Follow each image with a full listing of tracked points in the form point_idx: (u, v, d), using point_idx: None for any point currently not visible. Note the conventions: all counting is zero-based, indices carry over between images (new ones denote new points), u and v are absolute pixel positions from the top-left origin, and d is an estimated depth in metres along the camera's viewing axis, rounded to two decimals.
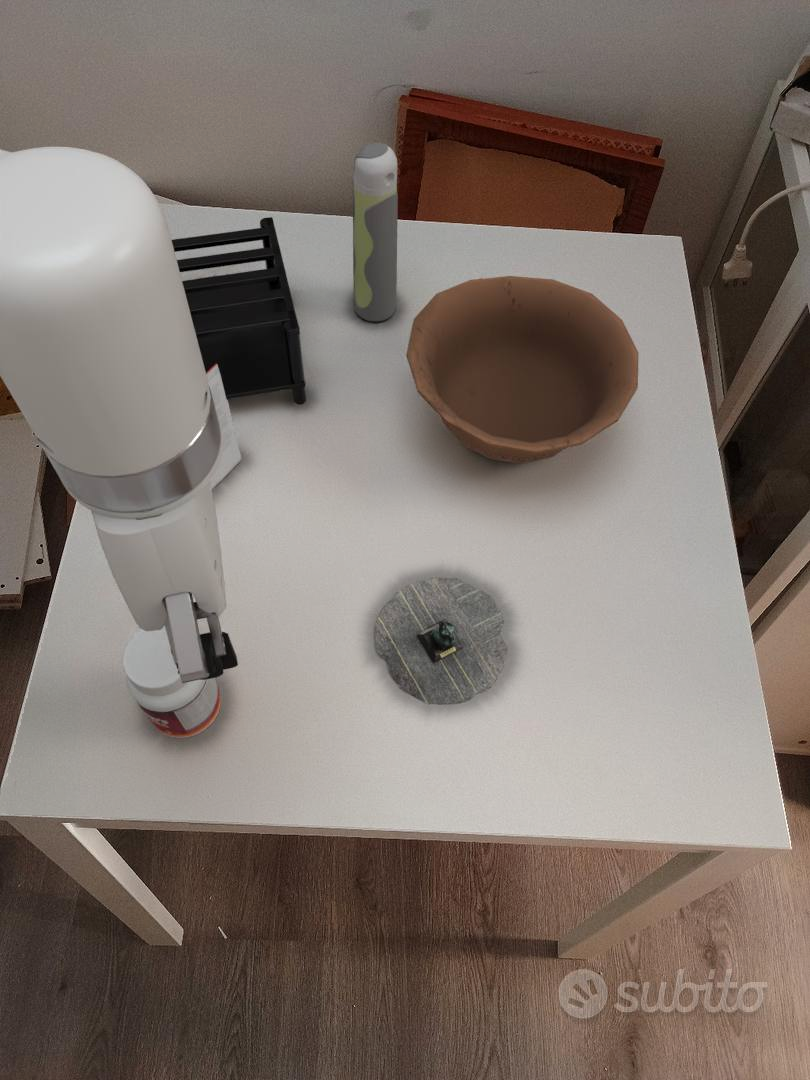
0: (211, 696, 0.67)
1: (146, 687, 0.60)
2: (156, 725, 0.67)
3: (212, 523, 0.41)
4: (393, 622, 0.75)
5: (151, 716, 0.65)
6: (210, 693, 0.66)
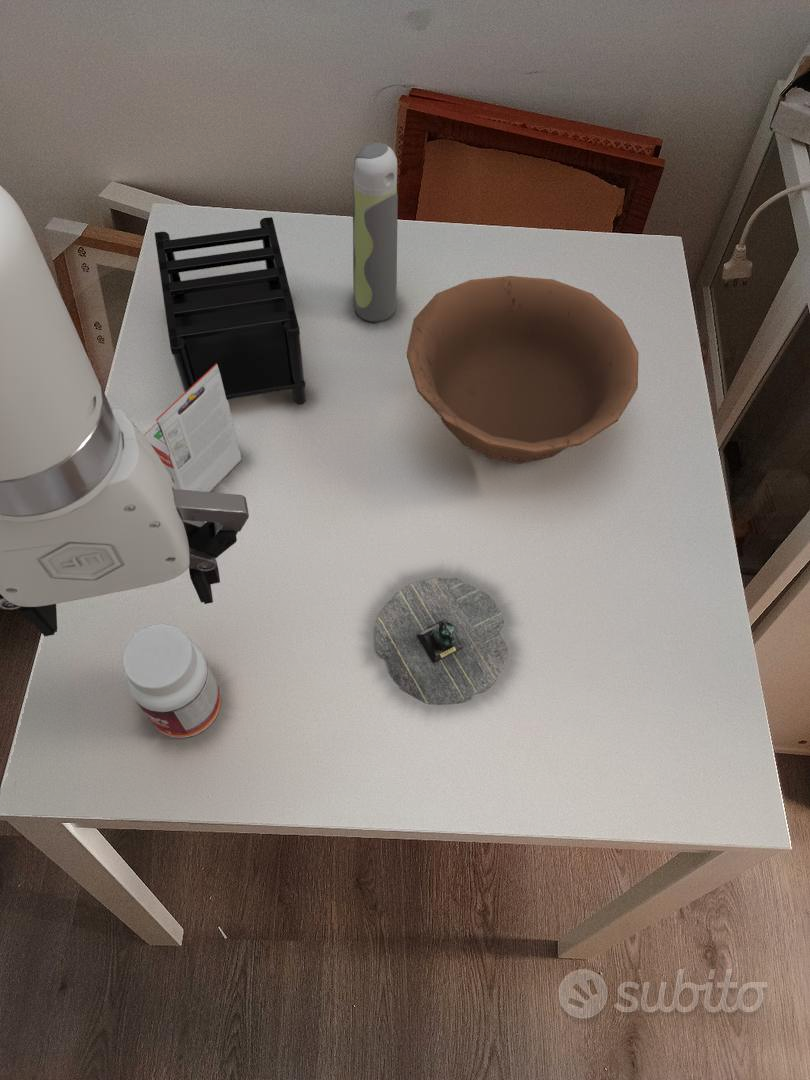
0: (211, 696, 0.67)
1: (146, 687, 0.60)
2: (156, 725, 0.67)
3: None
4: (393, 622, 0.75)
5: (151, 716, 0.65)
6: (210, 693, 0.66)
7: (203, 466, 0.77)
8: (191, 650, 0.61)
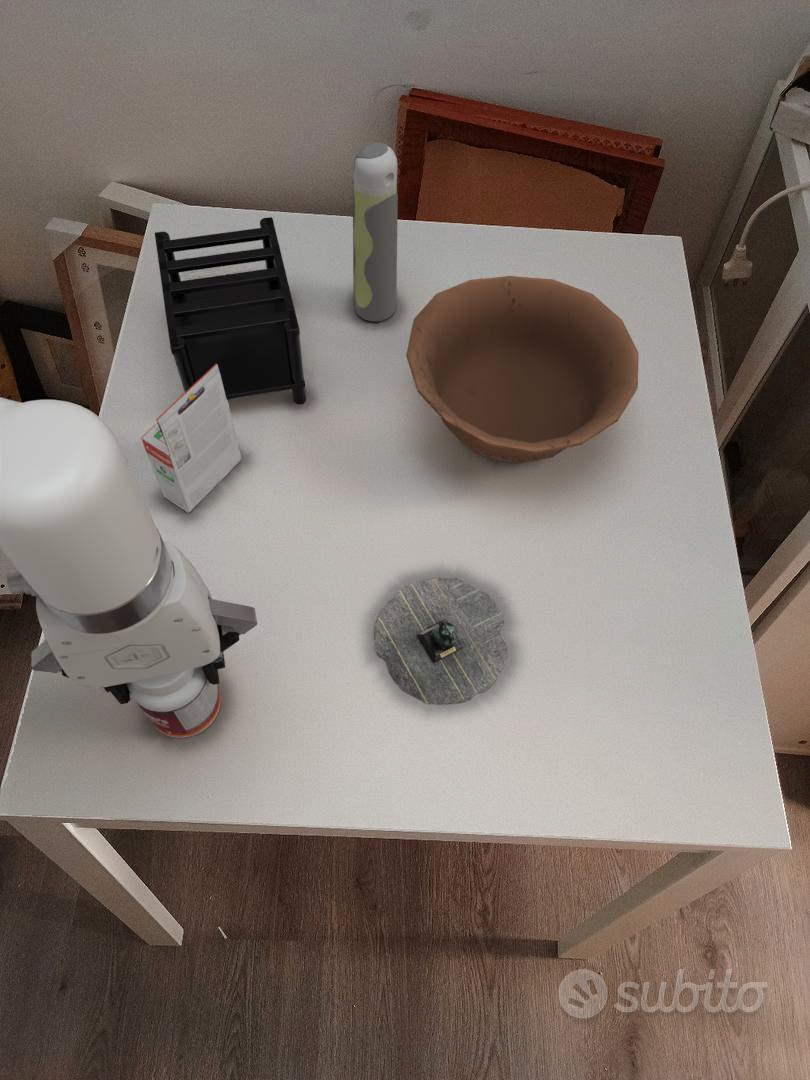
0: (211, 696, 0.67)
1: (146, 687, 0.60)
2: (156, 725, 0.67)
3: None
4: (393, 622, 0.75)
5: (151, 716, 0.65)
6: (210, 693, 0.66)
7: (203, 466, 0.77)
8: None
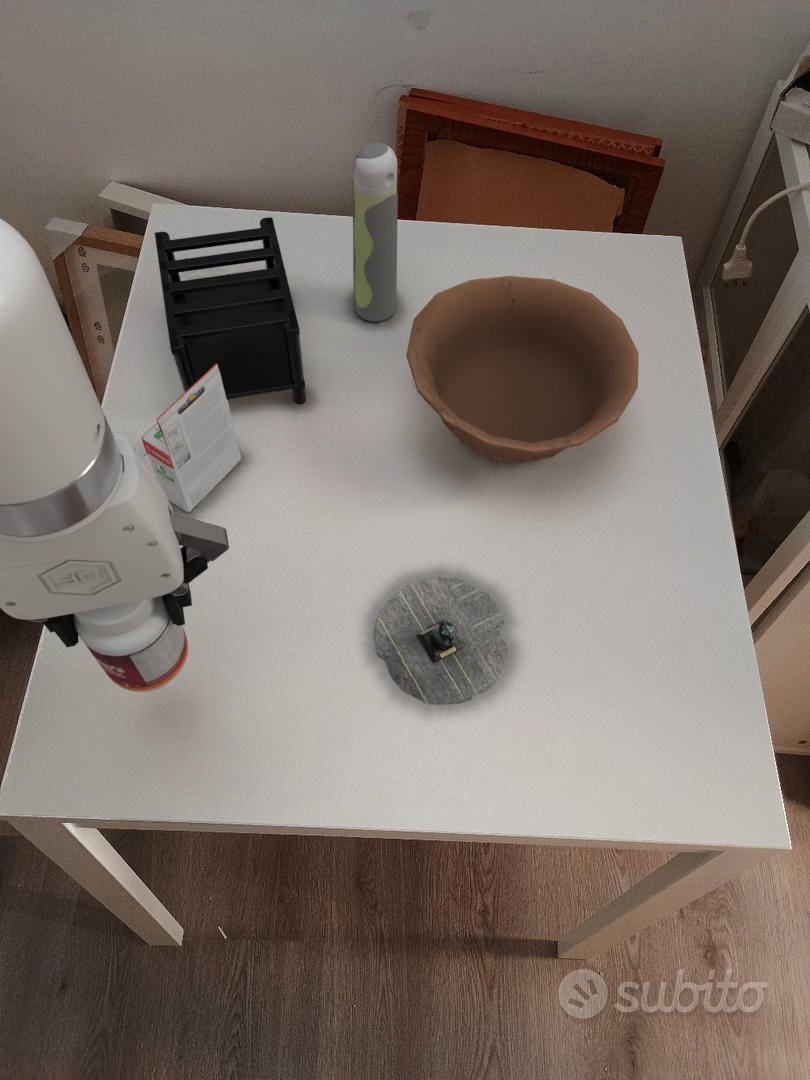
0: (176, 642, 0.57)
1: (95, 623, 0.50)
2: (111, 676, 0.57)
3: None
4: (393, 622, 0.75)
5: (104, 663, 0.55)
6: (174, 638, 0.56)
7: (203, 466, 0.77)
8: None
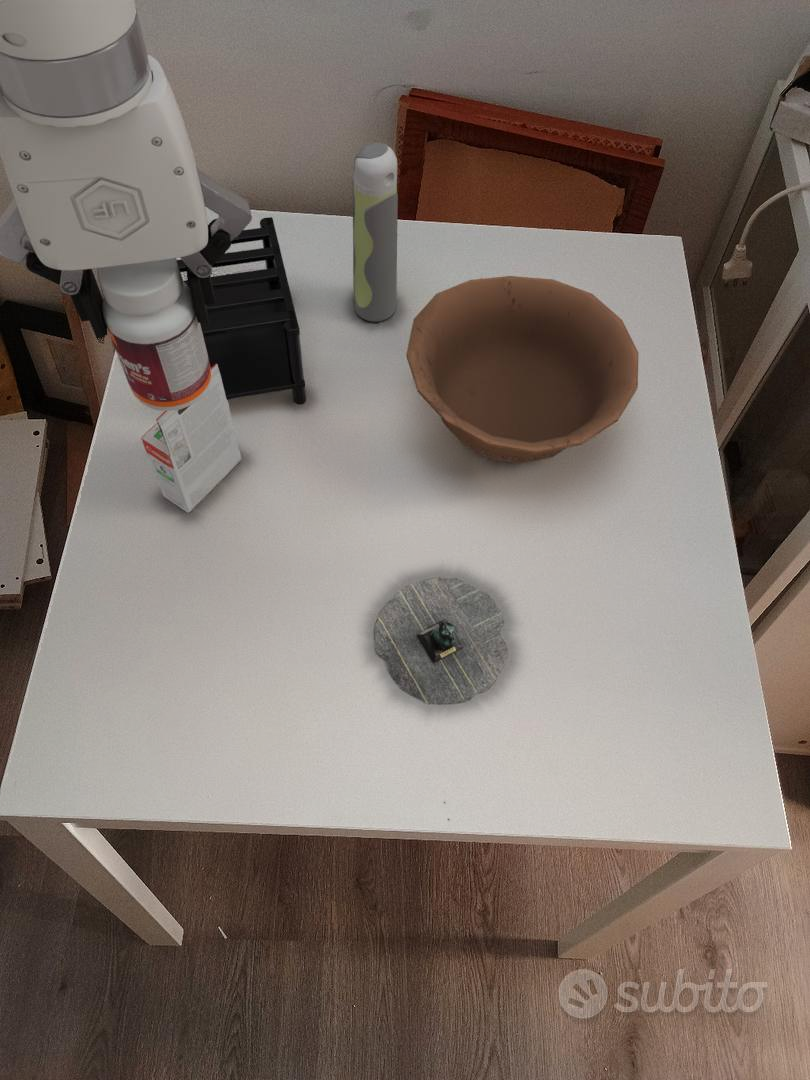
0: (200, 352, 0.59)
1: (123, 295, 0.52)
2: (137, 386, 0.60)
3: None
4: (393, 622, 0.75)
5: (131, 362, 0.57)
6: (199, 346, 0.59)
7: (203, 466, 0.77)
8: (176, 264, 0.54)
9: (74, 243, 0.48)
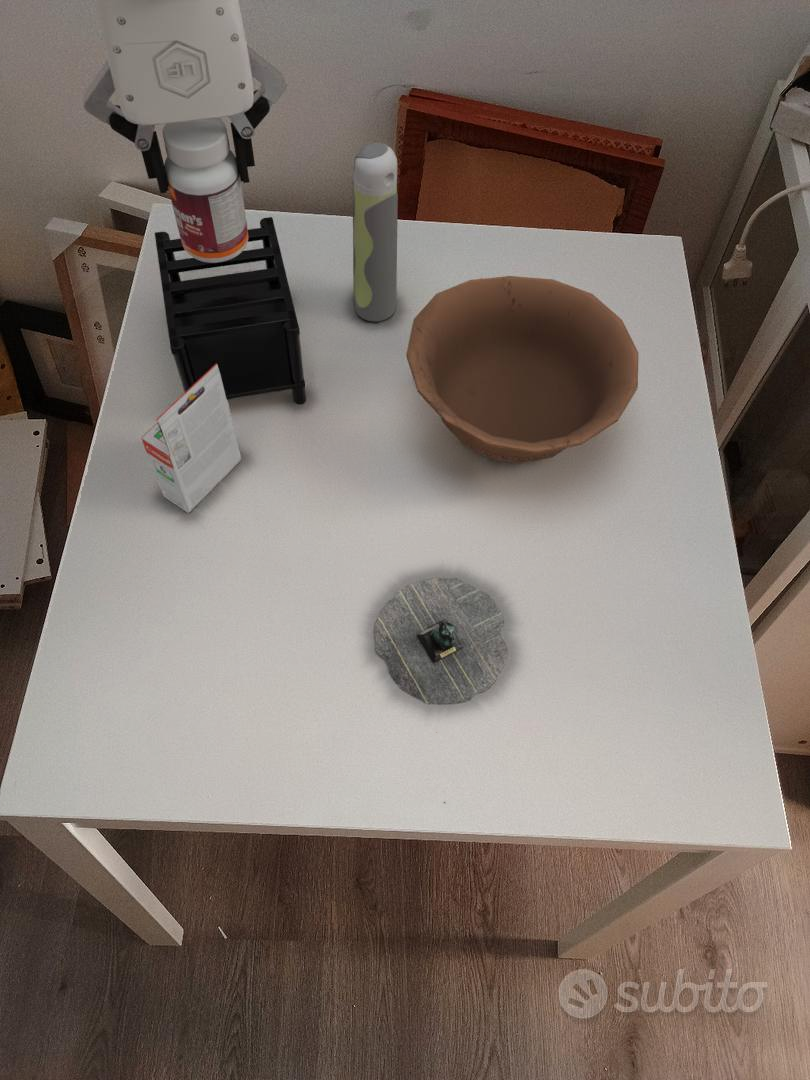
0: (241, 210, 0.73)
1: (185, 149, 0.66)
2: (190, 239, 0.73)
3: None
4: (393, 622, 0.75)
5: (187, 214, 0.71)
6: (240, 204, 0.72)
7: (203, 466, 0.77)
8: (225, 128, 0.67)
9: (151, 99, 0.61)
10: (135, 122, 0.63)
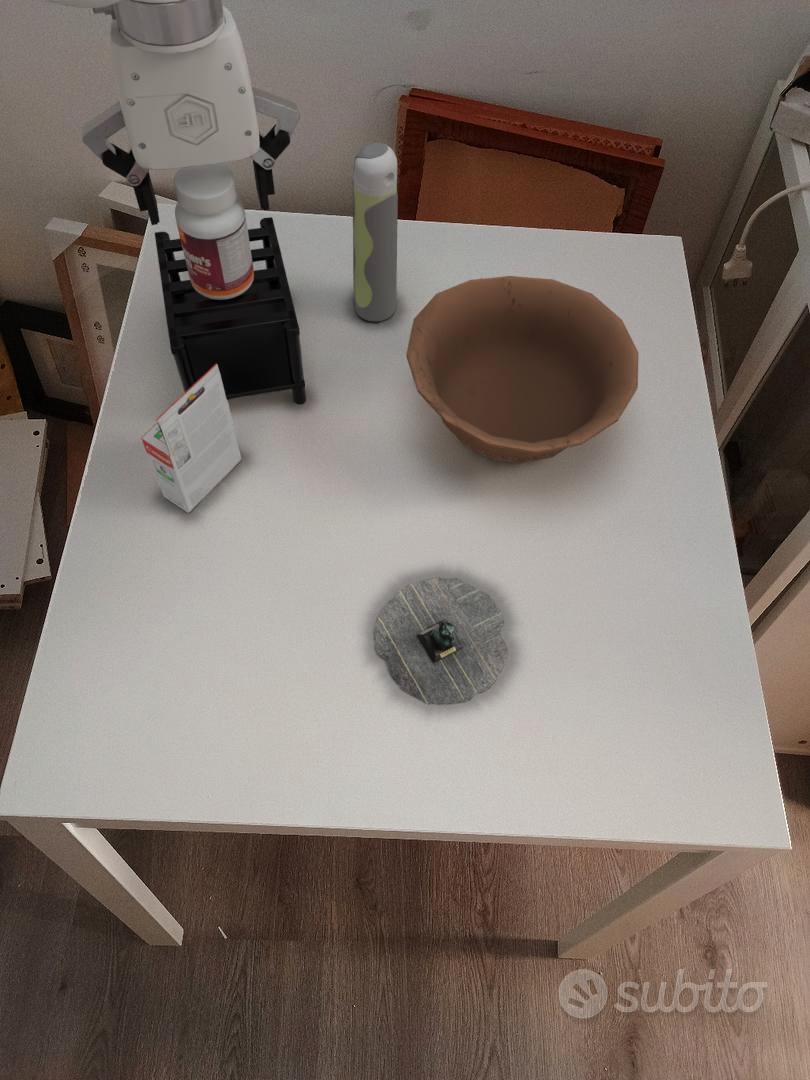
0: (247, 250, 0.77)
1: (195, 198, 0.70)
2: (199, 278, 0.77)
3: None
4: (393, 622, 0.75)
5: (196, 256, 0.75)
6: (246, 245, 0.76)
7: (203, 466, 0.77)
8: (233, 176, 0.71)
9: (163, 147, 0.65)
10: (147, 167, 0.66)
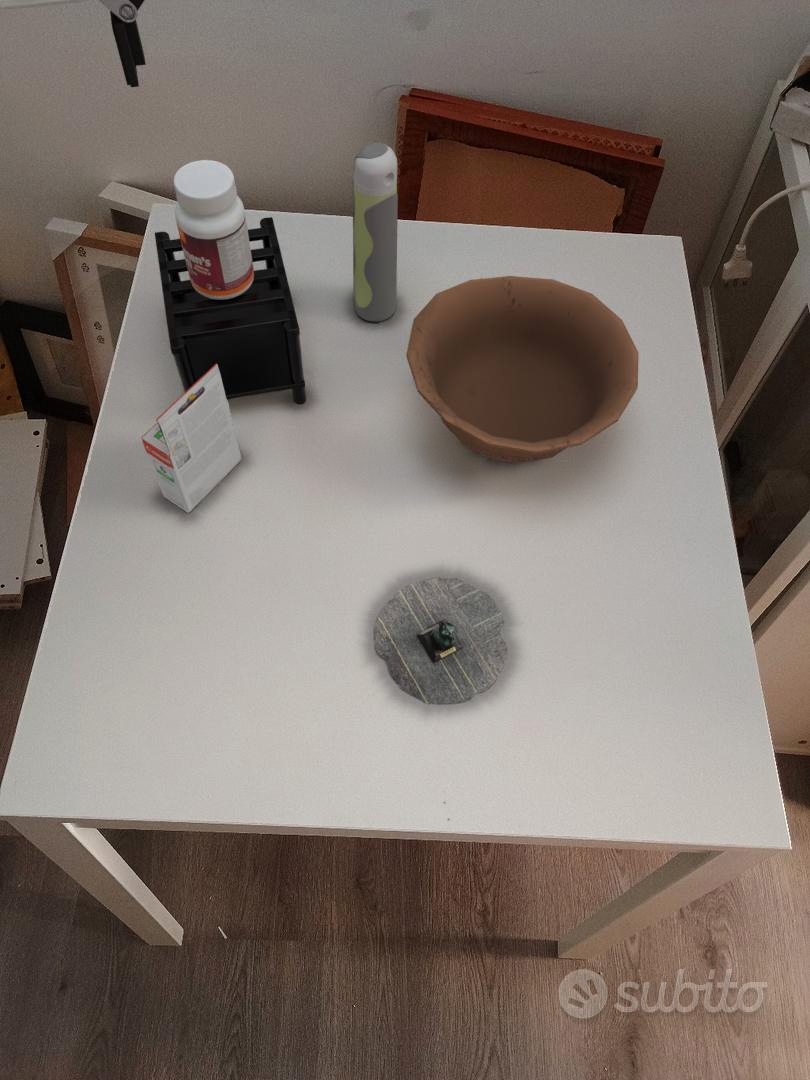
0: (247, 250, 0.77)
1: (195, 198, 0.70)
2: (199, 278, 0.77)
3: None
4: (393, 622, 0.75)
5: (196, 256, 0.75)
6: (246, 245, 0.76)
7: (203, 466, 0.77)
8: (233, 176, 0.71)
9: None
10: None
